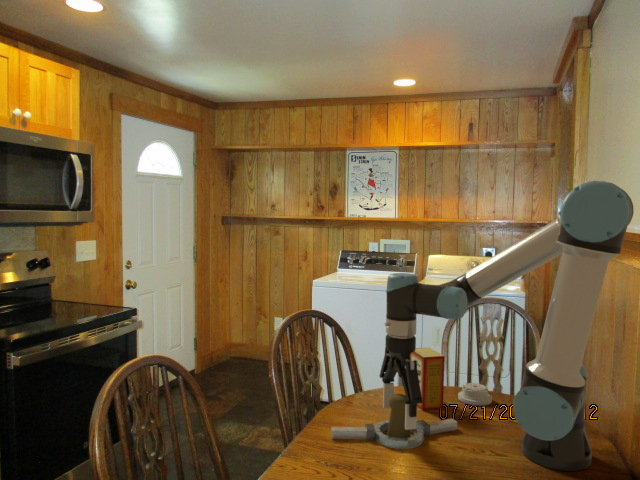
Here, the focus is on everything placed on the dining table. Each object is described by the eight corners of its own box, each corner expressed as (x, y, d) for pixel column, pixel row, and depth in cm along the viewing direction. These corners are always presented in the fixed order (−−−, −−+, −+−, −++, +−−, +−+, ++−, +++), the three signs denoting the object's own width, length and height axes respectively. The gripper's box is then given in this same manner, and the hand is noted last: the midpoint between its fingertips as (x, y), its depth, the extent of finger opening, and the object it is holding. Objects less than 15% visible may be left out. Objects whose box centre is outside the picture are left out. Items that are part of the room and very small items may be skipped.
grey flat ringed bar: (454, 426, 137) (455, 416, 137) (469, 449, 124) (470, 438, 124) (330, 425, 137) (330, 415, 137) (332, 448, 124) (332, 437, 124)
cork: (408, 444, 126) (409, 401, 126) (384, 440, 129) (385, 397, 128) (412, 434, 132) (413, 393, 131) (389, 431, 134) (390, 389, 134)
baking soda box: (408, 398, 157) (410, 347, 156) (428, 397, 159) (429, 346, 158) (422, 410, 148) (424, 356, 147) (443, 408, 150) (444, 354, 149)
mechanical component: (458, 404, 154) (493, 408, 151) (459, 390, 153) (494, 393, 151) (457, 393, 163) (490, 396, 161) (457, 379, 163) (490, 382, 161)
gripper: (368, 324, 140) (367, 400, 141) (408, 349, 116) (406, 440, 117) (394, 323, 142) (392, 398, 143) (438, 347, 118) (436, 437, 119)
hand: (398, 417), depth 130 cm, fingers open, 13 cm apart
